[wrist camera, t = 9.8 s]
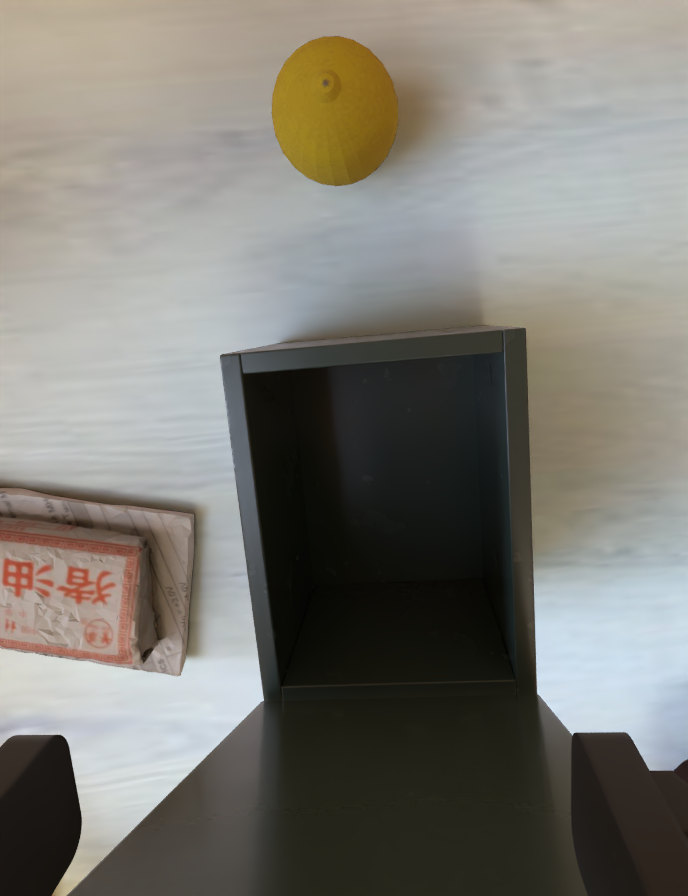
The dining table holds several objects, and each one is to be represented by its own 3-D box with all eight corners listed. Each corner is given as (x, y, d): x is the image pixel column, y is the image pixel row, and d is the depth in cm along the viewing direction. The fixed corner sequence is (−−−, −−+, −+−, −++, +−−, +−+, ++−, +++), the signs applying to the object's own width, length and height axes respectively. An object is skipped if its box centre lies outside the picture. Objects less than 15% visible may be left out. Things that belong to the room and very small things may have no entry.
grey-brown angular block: (-151, 664, 34) (-164, 495, 32) (-84, 623, 39) (-92, 472, 37) (161, 711, 33) (168, 538, 31) (191, 663, 38) (199, 509, 36)
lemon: (317, 219, 32) (291, 186, 24) (271, 114, 31) (229, 45, 23) (416, 169, 31) (421, 118, 23) (371, 60, 30) (361, -30, 22)
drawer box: (276, 343, 33) (219, 354, 23) (485, 324, 32) (526, 327, 22) (303, 592, 36) (263, 704, 26) (496, 584, 35) (537, 697, 25)
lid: (30, 929, 10) (17, 1326, 9) (745, 939, 9) (810, 1396, 8) (261, 701, 25) (265, 843, 24) (538, 693, 24) (553, 843, 23)
